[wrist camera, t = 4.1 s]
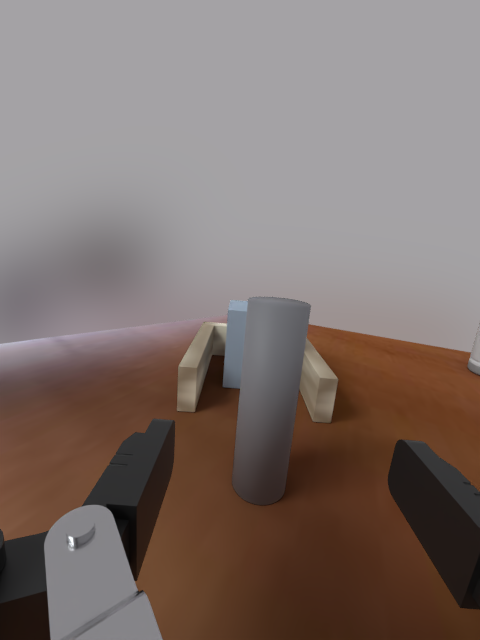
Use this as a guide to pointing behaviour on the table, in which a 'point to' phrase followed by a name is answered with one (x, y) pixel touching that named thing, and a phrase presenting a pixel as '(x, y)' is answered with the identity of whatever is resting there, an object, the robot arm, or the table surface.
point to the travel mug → (475, 355)
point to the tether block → (264, 390)
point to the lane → (211, 341)
